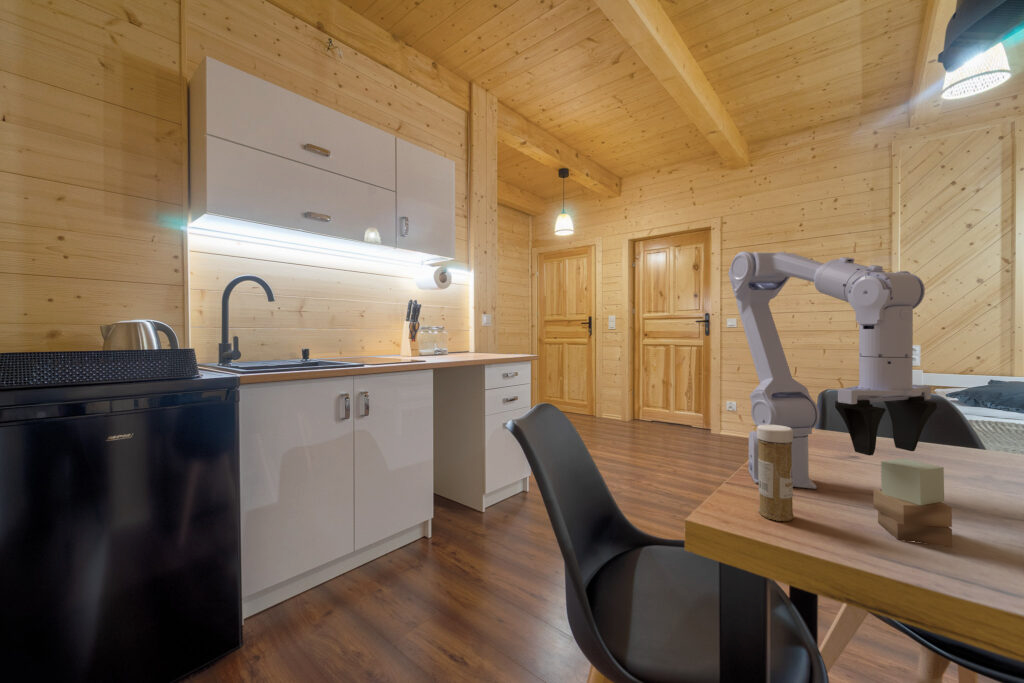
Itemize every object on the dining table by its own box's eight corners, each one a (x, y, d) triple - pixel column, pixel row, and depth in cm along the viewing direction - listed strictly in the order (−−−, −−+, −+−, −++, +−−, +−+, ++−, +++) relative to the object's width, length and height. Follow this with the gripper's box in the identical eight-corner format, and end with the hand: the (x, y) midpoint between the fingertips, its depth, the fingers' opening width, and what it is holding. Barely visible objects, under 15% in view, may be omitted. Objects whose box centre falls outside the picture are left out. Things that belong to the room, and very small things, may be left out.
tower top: (903, 524, 55) (903, 505, 55) (873, 508, 60) (873, 489, 60) (951, 527, 54) (951, 506, 54) (916, 509, 59) (916, 491, 59)
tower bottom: (897, 543, 55) (897, 523, 55) (878, 525, 60) (877, 507, 60) (952, 549, 53) (951, 529, 53) (926, 530, 59) (926, 512, 59)
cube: (920, 505, 54) (919, 470, 54) (881, 493, 59) (880, 461, 59) (944, 501, 56) (943, 467, 56) (904, 490, 60) (903, 458, 60)
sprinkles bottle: (798, 524, 60) (797, 430, 60) (762, 520, 62) (761, 429, 62) (788, 511, 65) (787, 424, 65) (754, 508, 66) (753, 422, 66)
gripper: (875, 359, 54) (875, 463, 55) (957, 356, 58) (957, 455, 58) (823, 356, 61) (823, 449, 62) (899, 354, 65) (899, 442, 65)
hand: (884, 451), depth 60 cm, fingers open, 7 cm apart
